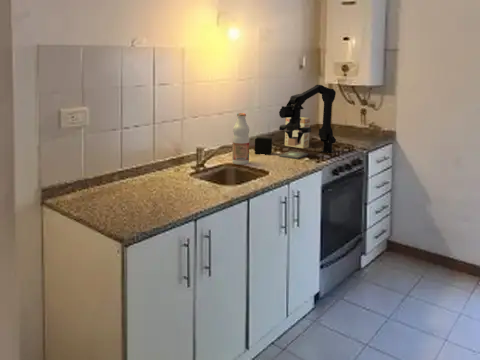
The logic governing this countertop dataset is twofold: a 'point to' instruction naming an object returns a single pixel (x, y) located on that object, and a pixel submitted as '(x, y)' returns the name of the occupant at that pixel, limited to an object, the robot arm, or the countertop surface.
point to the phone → (293, 141)
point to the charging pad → (293, 155)
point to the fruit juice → (241, 140)
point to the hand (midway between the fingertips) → (294, 142)
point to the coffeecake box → (304, 139)
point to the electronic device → (263, 145)
